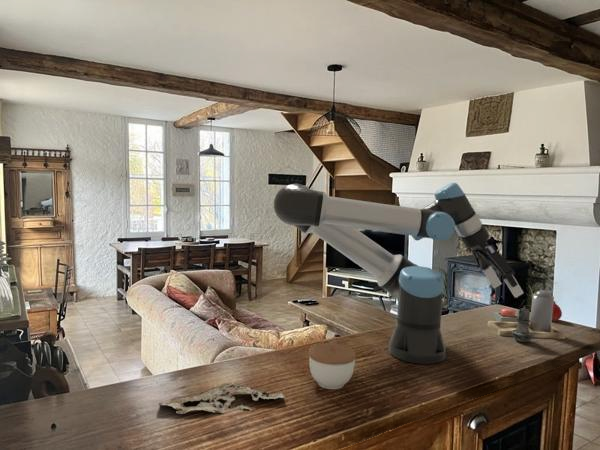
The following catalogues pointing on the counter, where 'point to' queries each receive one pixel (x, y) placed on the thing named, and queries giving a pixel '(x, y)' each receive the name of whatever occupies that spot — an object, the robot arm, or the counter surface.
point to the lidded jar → (331, 364)
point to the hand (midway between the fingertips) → (507, 290)
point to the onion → (556, 312)
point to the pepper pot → (541, 311)
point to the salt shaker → (523, 326)
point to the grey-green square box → (505, 319)
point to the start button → (507, 312)
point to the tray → (507, 328)
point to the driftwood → (216, 394)
